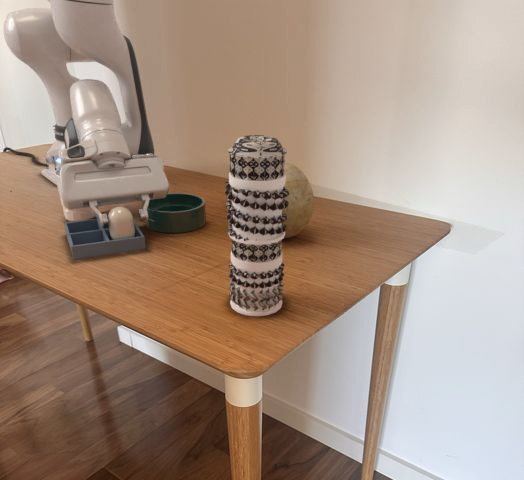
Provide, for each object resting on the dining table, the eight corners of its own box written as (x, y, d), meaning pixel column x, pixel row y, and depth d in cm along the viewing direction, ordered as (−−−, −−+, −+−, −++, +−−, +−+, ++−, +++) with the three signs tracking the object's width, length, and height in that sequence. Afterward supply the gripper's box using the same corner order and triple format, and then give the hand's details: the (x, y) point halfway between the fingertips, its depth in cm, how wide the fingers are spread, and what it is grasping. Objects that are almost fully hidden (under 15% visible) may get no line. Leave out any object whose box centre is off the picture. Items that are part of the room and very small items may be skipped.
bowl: (134, 225, 109) (130, 202, 107) (180, 210, 117) (178, 189, 115) (171, 240, 102) (169, 216, 99) (218, 224, 110) (217, 202, 108)
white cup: (54, 219, 111) (46, 173, 105) (76, 207, 117) (70, 164, 111) (84, 226, 109) (78, 180, 103) (105, 214, 115) (100, 170, 109)
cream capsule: (107, 245, 99) (100, 207, 94) (127, 238, 102) (122, 201, 97) (121, 251, 96) (115, 212, 92) (141, 244, 99) (136, 206, 95)
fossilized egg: (242, 229, 108) (242, 157, 100) (296, 222, 112) (300, 152, 103) (264, 251, 98) (265, 173, 90) (322, 243, 102) (328, 167, 94)
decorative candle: (218, 311, 79) (211, 142, 65) (241, 286, 86) (239, 129, 72) (272, 322, 76) (278, 149, 62) (291, 295, 83) (300, 135, 69)
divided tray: (66, 236, 103) (63, 222, 102) (132, 228, 108) (130, 214, 106) (74, 261, 93) (71, 246, 91) (146, 251, 98) (144, 236, 96)
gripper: (158, 161, 104) (175, 222, 102) (54, 171, 97) (71, 236, 95) (161, 143, 98) (179, 207, 96) (51, 152, 91) (68, 221, 89)
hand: (124, 222), depth 96 cm, fingers open, 6 cm apart
